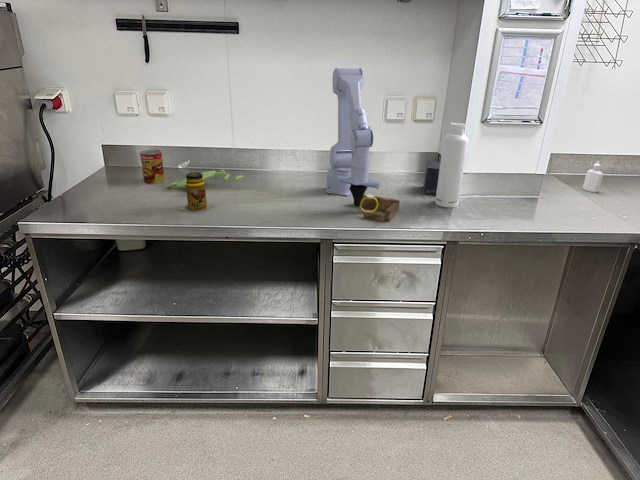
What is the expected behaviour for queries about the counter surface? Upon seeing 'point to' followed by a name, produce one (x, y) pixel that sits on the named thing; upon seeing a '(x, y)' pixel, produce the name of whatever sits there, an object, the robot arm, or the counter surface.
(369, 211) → the watch
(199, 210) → the condiment
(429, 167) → the small box
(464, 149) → the bottle
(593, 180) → the eye dropper bottle
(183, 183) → the figurine
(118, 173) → the counter surface
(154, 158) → the canned food
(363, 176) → the robot arm
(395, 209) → the wooden u-shaped block
